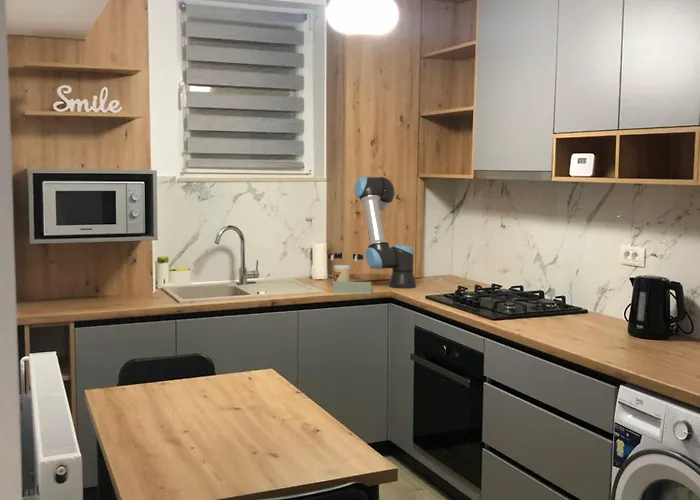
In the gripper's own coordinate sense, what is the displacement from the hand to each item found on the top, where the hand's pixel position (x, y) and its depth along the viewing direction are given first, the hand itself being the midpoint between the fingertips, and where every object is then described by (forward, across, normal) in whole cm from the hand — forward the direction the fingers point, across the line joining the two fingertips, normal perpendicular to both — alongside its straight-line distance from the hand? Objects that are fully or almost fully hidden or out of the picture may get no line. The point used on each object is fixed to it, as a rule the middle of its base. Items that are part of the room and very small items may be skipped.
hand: (343, 258), depth 423 cm
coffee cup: (+10, 0, -15) cm, 18 cm away
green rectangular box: (+23, -8, -15) cm, 29 cm away
